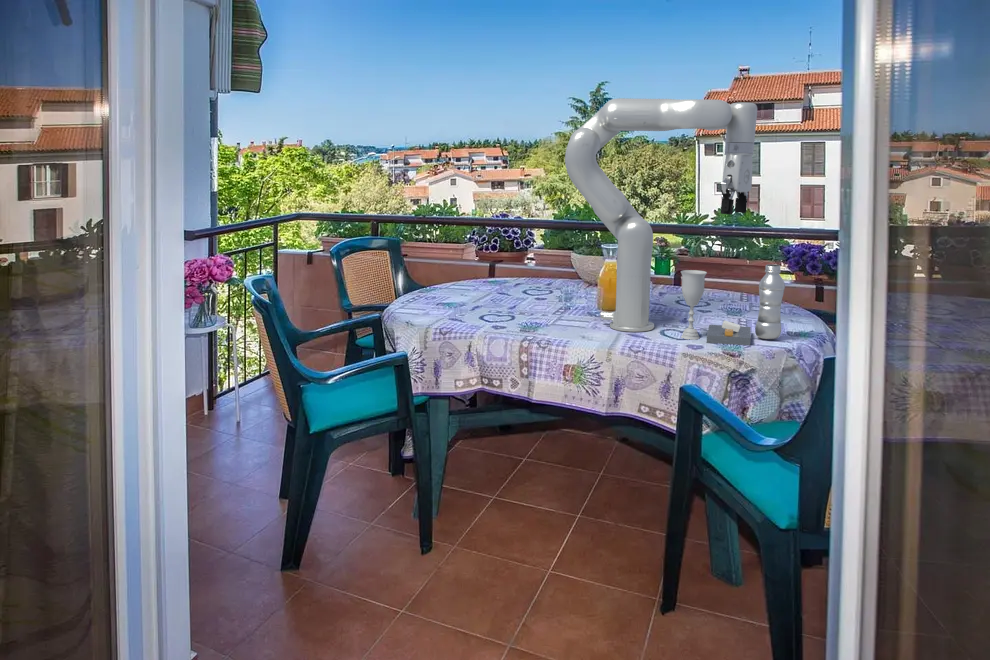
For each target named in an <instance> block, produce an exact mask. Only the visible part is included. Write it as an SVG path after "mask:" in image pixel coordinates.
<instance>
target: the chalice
mask: <svg viewBox="0 0 990 660" xmlns="http://www.w3.org/2000/svg"><path fill="white" fill-rule="evenodd" d="M680 273H681V274H680V275H681V293H682V296H683V298H684V302H685V303H686V305H687V306H689V312H688V315H689V318H688V319H687V321H688V323H689V324H688V326H687V328H684V330H683V332H682V335H681V337H680V338H681V339H683V338H684V340H689V339H690V341H693V340H694V341H695V340H700V339H701V337H700V335H699V333H698V330H697V329H696V328H694V325H693V323H694V322H695V319H694V316H695V312H694V308H695V307H696V306H698V304H699V303H700V301H701V299H702V297H703V295H704V292H705V284H706V283H705V281H706V280H705V279H706V278H705V277H706V275H707V274H708V272H707V271H704V270H697V269H695V270H694V269H693V270H692V269H690V270H689V269H685V270H684V269H683V270H681V271H680ZM699 338H700V339H699Z"/></svg>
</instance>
